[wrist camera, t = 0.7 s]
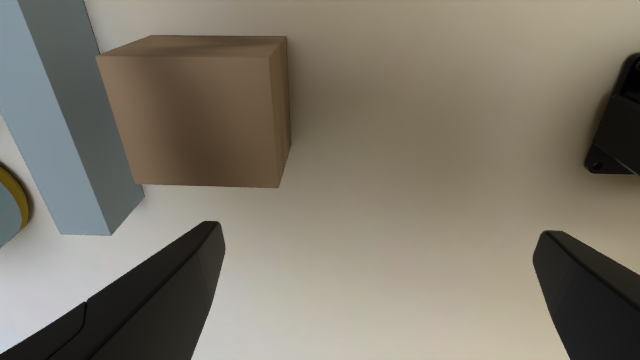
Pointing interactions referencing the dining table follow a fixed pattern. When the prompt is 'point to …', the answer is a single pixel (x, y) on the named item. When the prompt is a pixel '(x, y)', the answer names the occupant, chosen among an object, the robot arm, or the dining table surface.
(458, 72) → the dining table surface
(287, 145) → the walnut brick
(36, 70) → the light blue block
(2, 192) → the bottle
